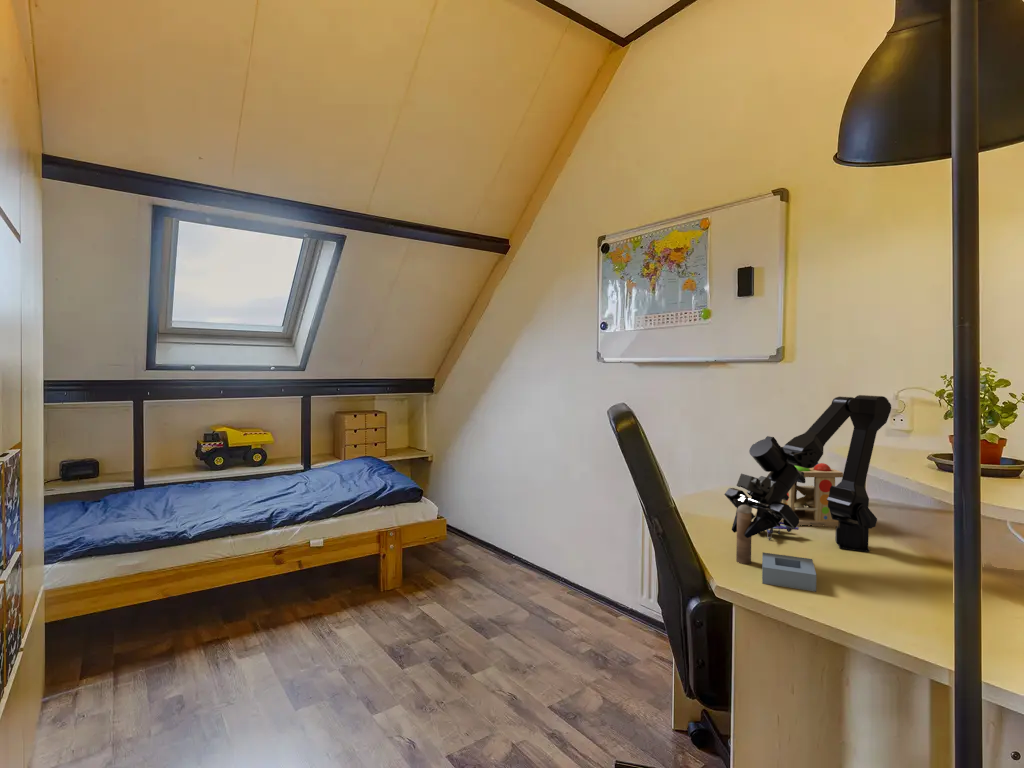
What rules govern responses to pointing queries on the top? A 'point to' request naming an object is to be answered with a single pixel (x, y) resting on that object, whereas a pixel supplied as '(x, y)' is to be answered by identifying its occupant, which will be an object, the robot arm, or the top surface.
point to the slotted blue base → (788, 571)
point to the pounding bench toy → (813, 496)
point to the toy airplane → (780, 528)
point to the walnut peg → (742, 542)
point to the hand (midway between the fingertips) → (739, 534)
